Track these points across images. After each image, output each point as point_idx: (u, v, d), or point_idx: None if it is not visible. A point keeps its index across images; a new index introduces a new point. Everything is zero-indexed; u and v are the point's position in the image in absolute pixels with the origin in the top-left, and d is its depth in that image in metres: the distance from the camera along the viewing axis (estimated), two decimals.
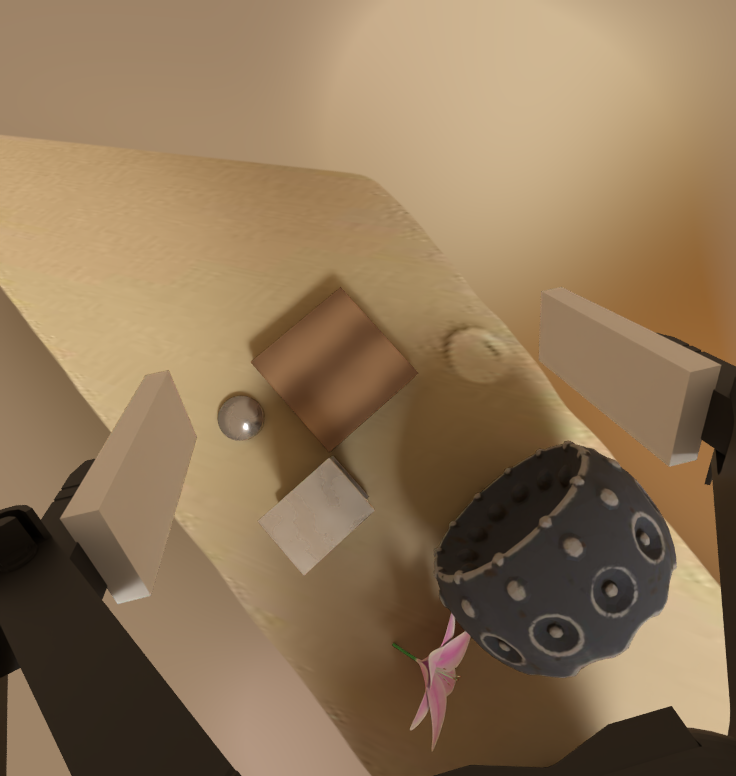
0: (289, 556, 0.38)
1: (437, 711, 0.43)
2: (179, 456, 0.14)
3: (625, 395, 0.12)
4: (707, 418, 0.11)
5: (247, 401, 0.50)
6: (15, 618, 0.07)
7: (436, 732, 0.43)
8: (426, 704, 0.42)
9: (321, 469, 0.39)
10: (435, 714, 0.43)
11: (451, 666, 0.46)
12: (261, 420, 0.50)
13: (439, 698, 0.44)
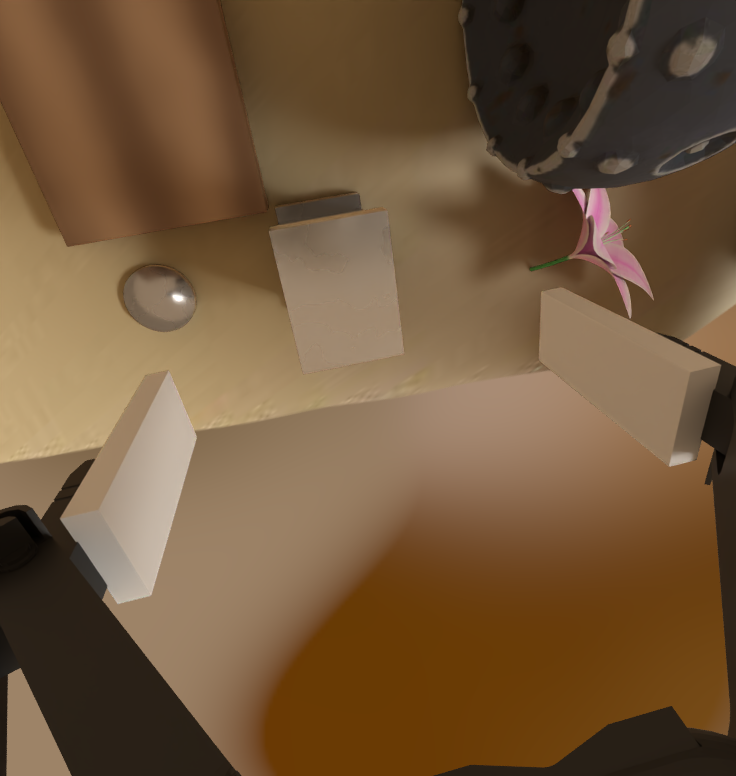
0: (370, 358, 0.26)
1: (631, 269, 0.34)
2: (179, 456, 0.14)
3: (625, 395, 0.12)
4: (707, 418, 0.11)
5: (138, 279, 0.33)
6: (15, 618, 0.07)
7: (645, 284, 0.35)
8: (619, 279, 0.33)
9: (281, 253, 0.23)
10: (633, 274, 0.34)
11: (606, 220, 0.34)
12: (175, 275, 0.33)
13: (622, 258, 0.34)
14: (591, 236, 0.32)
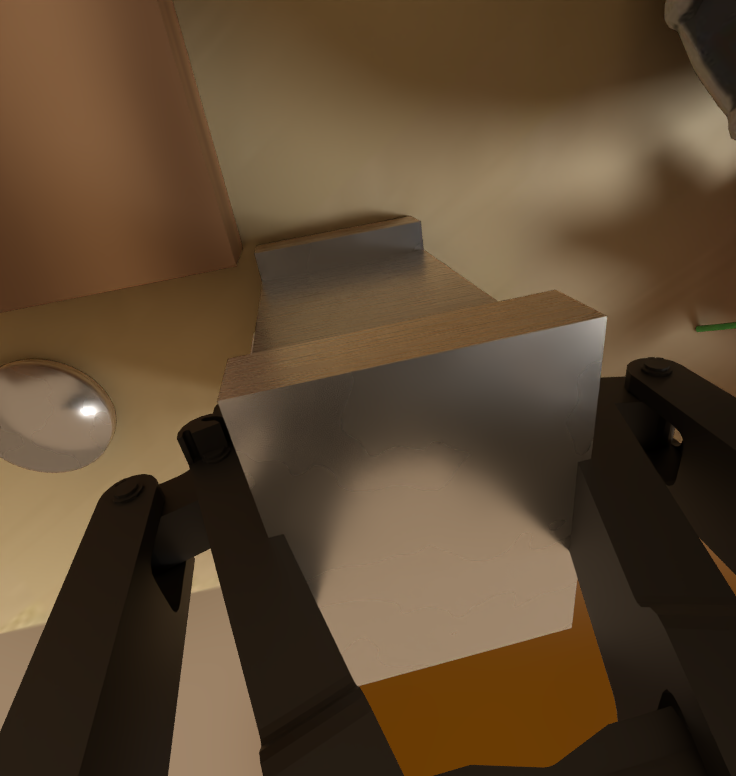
0: (492, 645, 0.11)
1: None
2: None
3: None
4: None
5: None
6: (209, 501, 0.09)
7: None
8: None
9: (263, 458, 0.07)
10: None
11: None
12: (68, 379, 0.17)
13: None
14: None
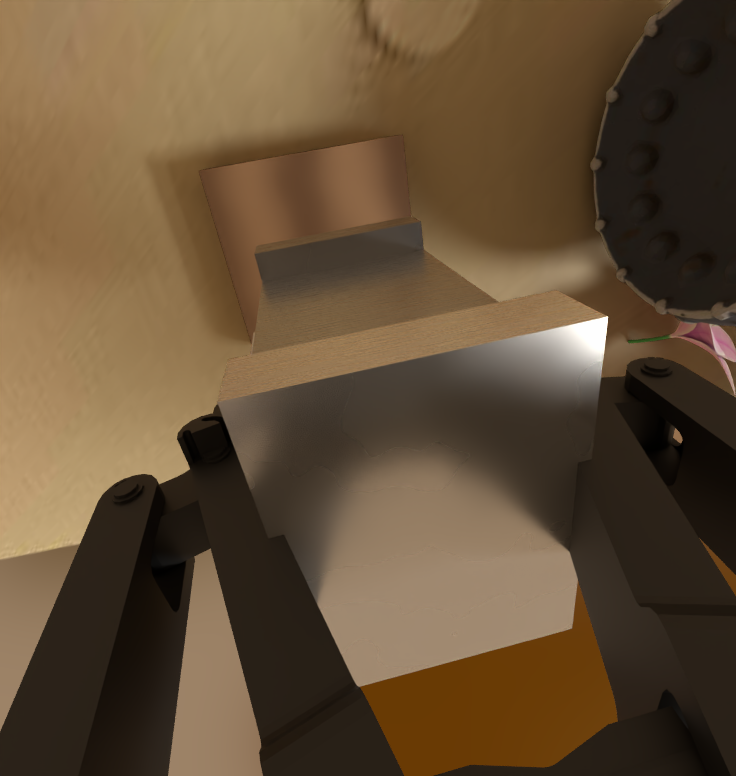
0: (492, 646, 0.11)
1: (726, 346, 0.39)
2: None
3: None
4: None
5: None
6: (209, 501, 0.09)
7: None
8: (720, 358, 0.38)
9: (263, 458, 0.07)
10: (728, 351, 0.39)
11: None
12: None
13: (717, 336, 0.39)
14: (697, 325, 0.36)
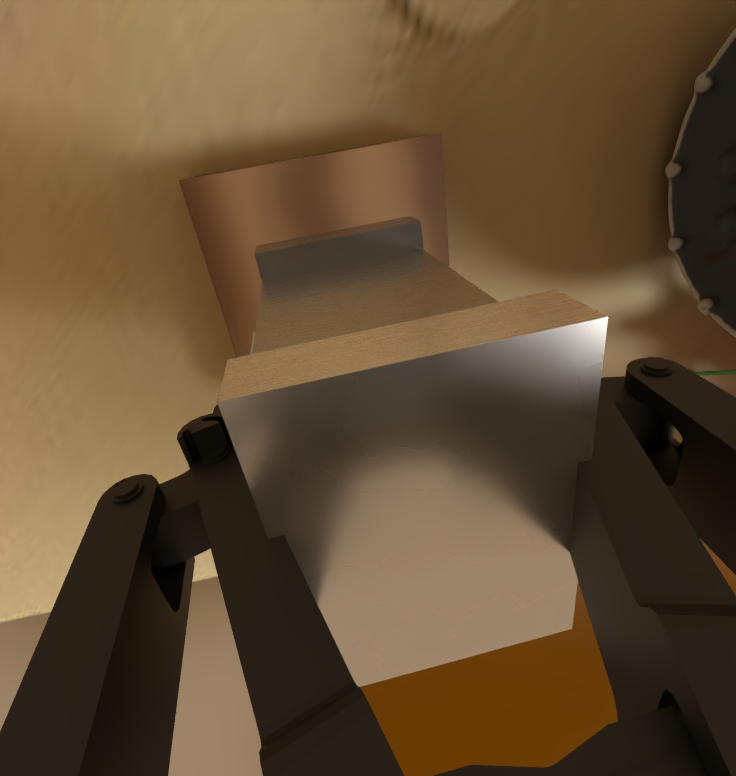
0: (492, 646, 0.11)
1: None
2: None
3: None
4: None
5: None
6: (209, 501, 0.09)
7: None
8: None
9: (262, 458, 0.07)
10: None
11: None
12: None
13: None
14: None
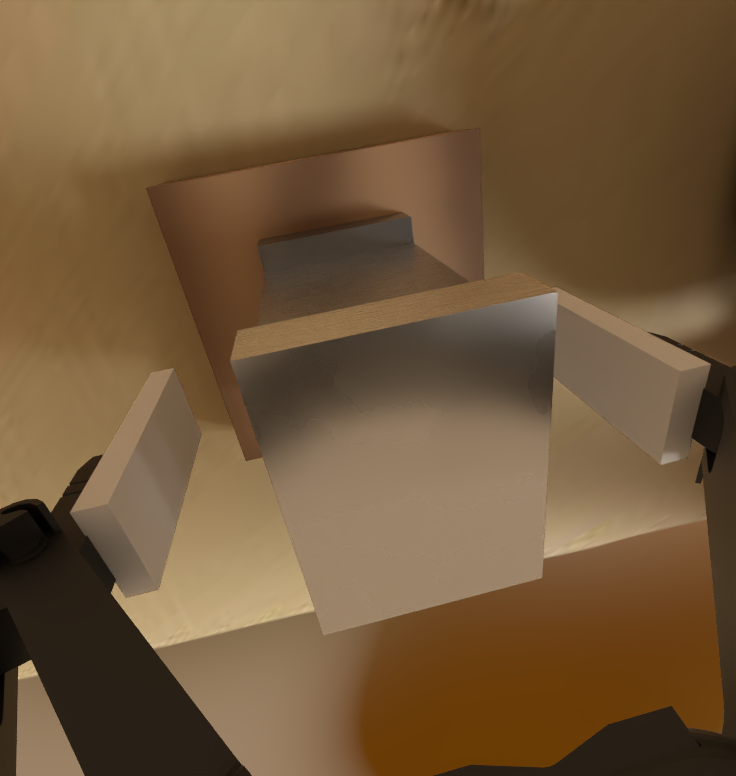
0: (470, 592, 0.12)
1: None
2: (185, 452, 0.14)
3: (617, 394, 0.12)
4: (697, 417, 0.11)
5: None
6: (26, 610, 0.07)
7: None
8: None
9: (268, 411, 0.08)
10: None
11: None
12: None
13: None
14: None
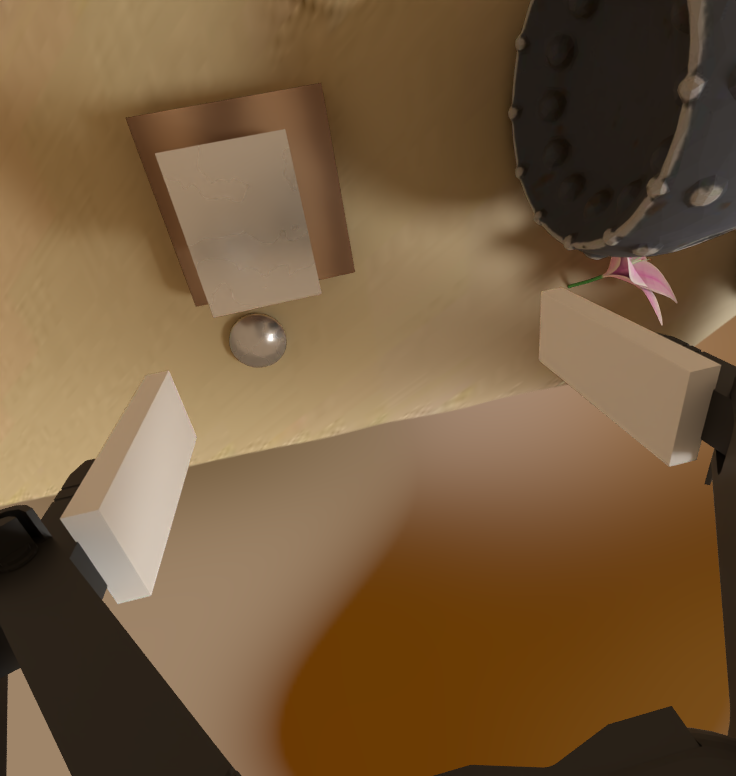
0: (285, 299, 0.25)
1: (656, 281, 0.40)
2: (179, 456, 0.14)
3: (625, 395, 0.12)
4: (707, 418, 0.11)
5: (241, 326, 0.39)
6: (15, 618, 0.07)
7: (669, 291, 0.41)
8: (648, 292, 0.39)
9: (172, 179, 0.21)
10: (658, 285, 0.40)
11: None
12: (272, 321, 0.40)
13: (647, 272, 0.41)
14: (622, 261, 0.38)
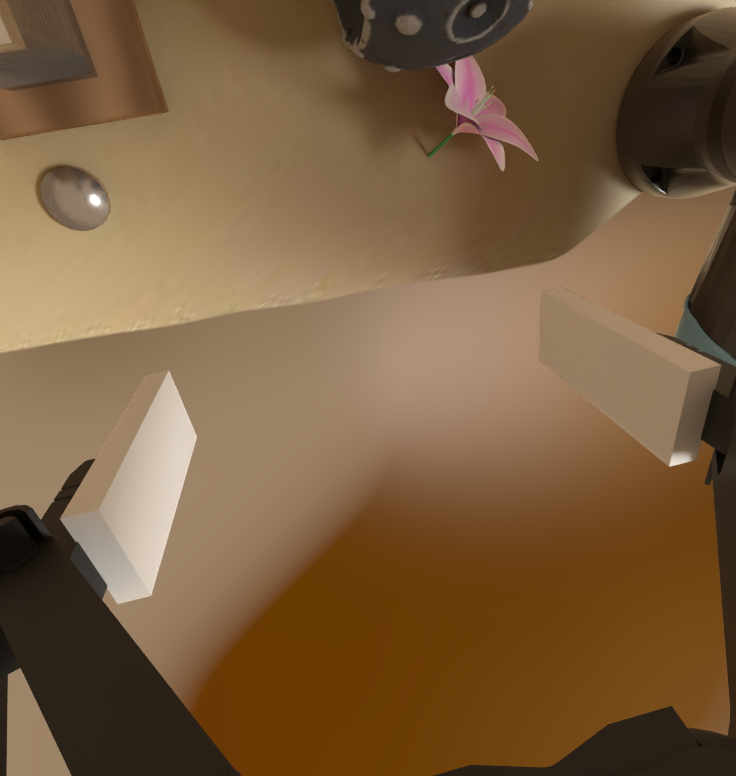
0: None
1: (509, 133, 0.37)
2: (179, 456, 0.14)
3: (625, 395, 0.12)
4: (707, 418, 0.11)
5: (52, 178, 0.37)
6: (15, 618, 0.07)
7: (526, 146, 0.38)
8: (495, 141, 0.36)
9: None
10: (510, 137, 0.37)
11: (481, 93, 0.38)
12: (87, 175, 0.37)
13: (500, 125, 0.37)
14: None
